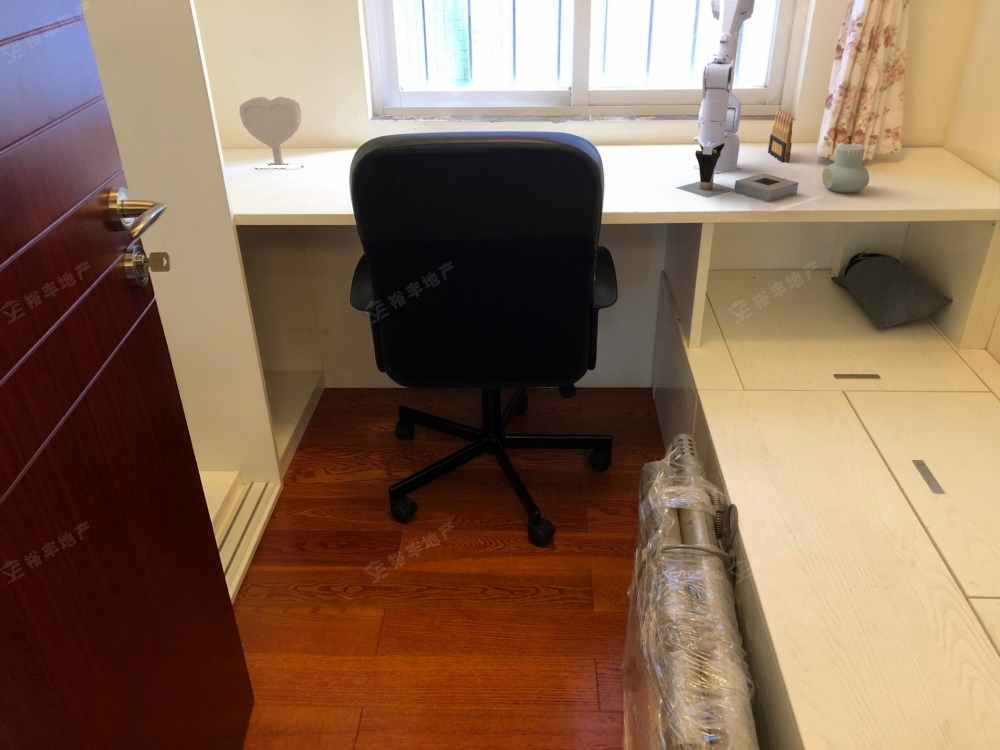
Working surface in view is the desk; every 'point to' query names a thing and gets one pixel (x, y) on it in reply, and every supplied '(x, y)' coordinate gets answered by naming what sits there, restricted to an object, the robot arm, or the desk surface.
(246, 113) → the heart sculpture
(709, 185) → the peg
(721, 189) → the mat
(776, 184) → the square hole block
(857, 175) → the air freshener
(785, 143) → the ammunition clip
